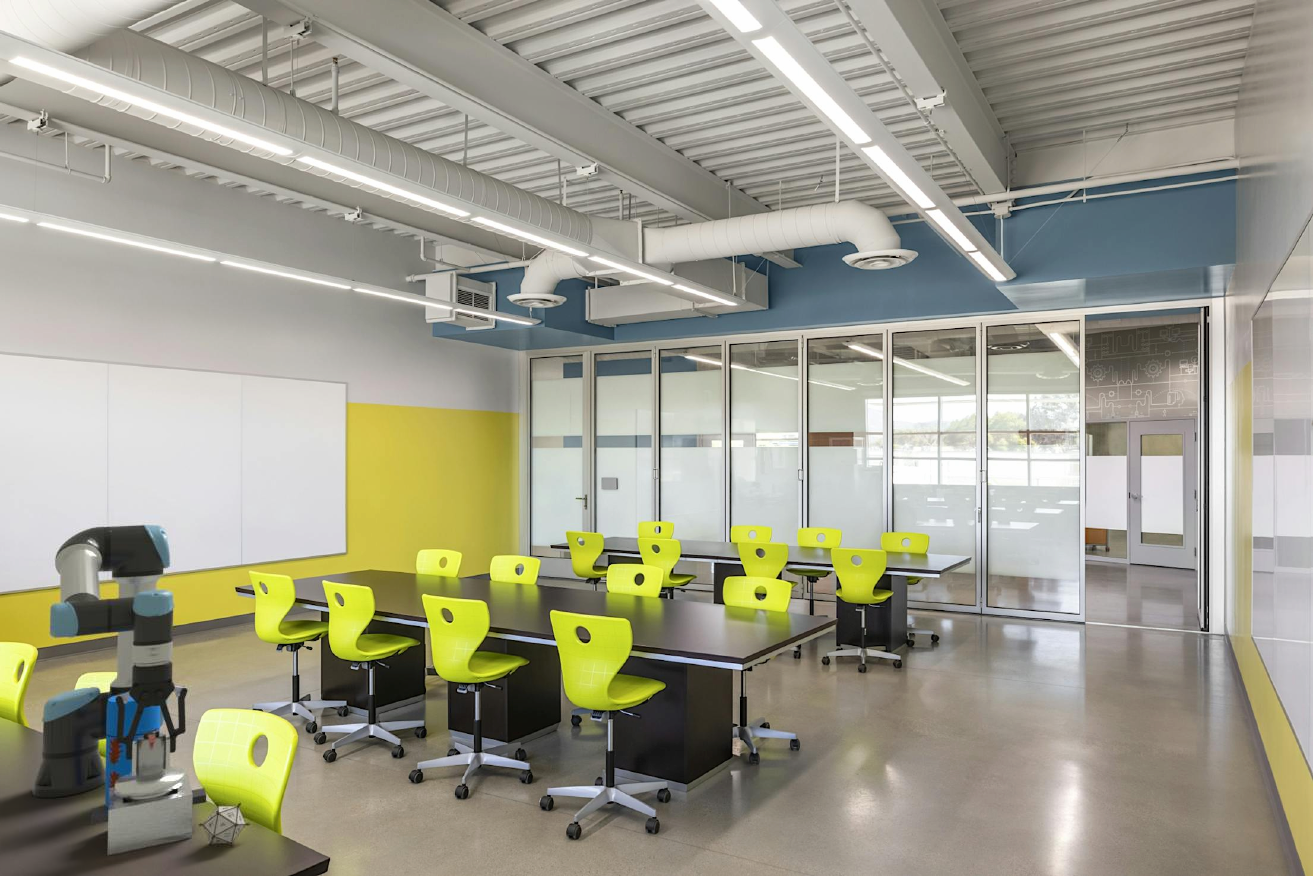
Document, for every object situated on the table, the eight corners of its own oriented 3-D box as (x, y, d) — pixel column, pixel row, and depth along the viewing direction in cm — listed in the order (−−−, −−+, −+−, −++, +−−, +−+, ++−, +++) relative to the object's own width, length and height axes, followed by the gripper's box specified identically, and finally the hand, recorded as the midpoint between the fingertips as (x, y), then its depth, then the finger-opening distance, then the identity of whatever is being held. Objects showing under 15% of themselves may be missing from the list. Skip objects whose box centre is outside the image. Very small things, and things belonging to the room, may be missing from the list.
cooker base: (92, 833, 180) (92, 791, 181) (202, 811, 192) (202, 771, 192) (89, 859, 168) (90, 813, 168) (207, 834, 179) (208, 791, 180)
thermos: (132, 813, 191) (134, 703, 192) (93, 810, 193) (95, 701, 194) (169, 796, 202) (171, 691, 203) (131, 793, 204) (133, 689, 205)
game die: (223, 866, 172) (206, 839, 166) (201, 843, 176) (185, 816, 171) (262, 832, 178) (248, 805, 172) (240, 811, 182) (226, 784, 177)
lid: (114, 798, 182) (116, 730, 183) (183, 785, 189) (183, 720, 190) (114, 817, 171) (115, 745, 172) (186, 803, 178) (187, 734, 179)
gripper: (101, 671, 174) (99, 785, 172) (202, 660, 184) (200, 767, 182) (102, 665, 180) (99, 774, 179) (199, 654, 190) (198, 758, 189)
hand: (150, 770), depth 180 cm, fingers closed on lid, 5 cm apart
